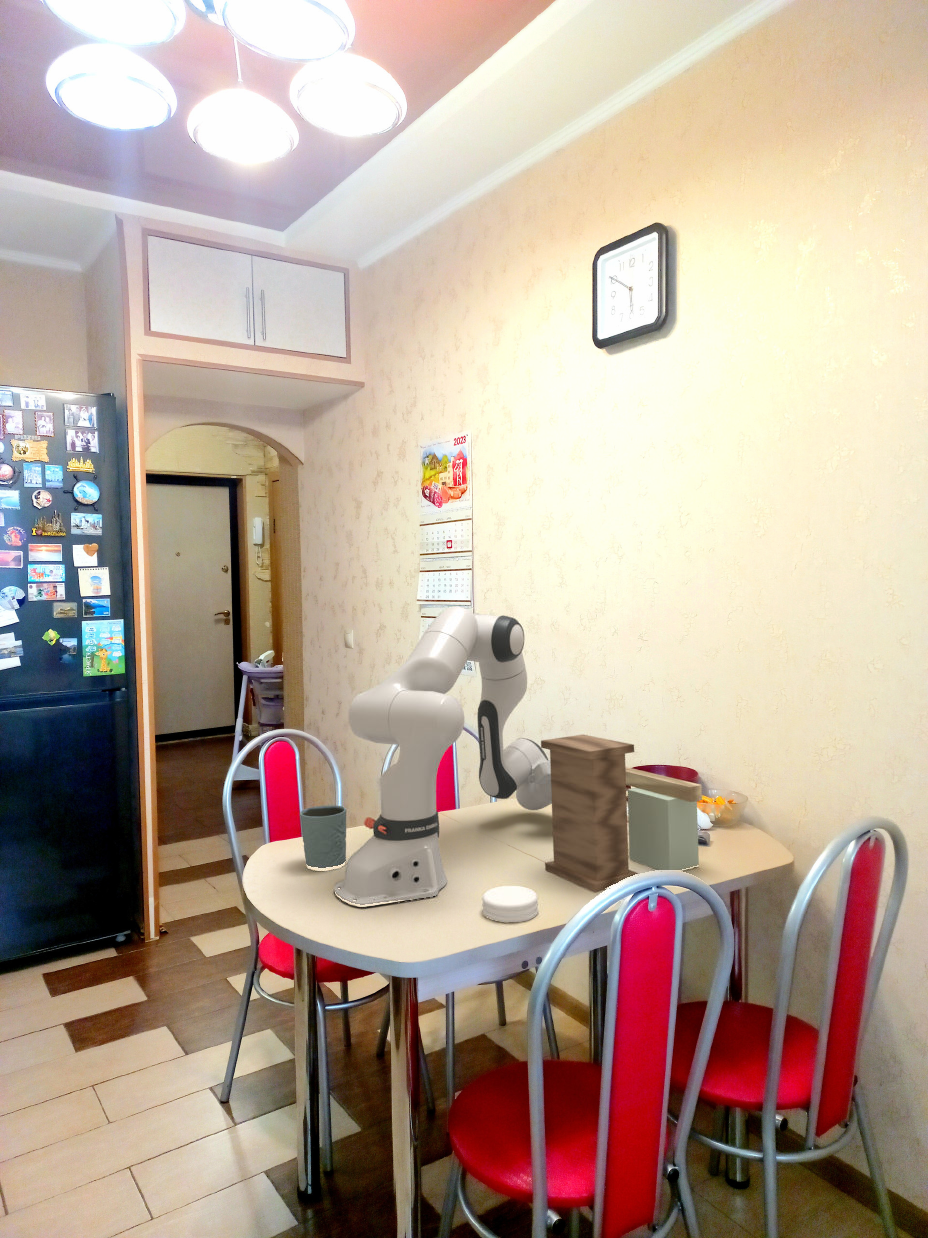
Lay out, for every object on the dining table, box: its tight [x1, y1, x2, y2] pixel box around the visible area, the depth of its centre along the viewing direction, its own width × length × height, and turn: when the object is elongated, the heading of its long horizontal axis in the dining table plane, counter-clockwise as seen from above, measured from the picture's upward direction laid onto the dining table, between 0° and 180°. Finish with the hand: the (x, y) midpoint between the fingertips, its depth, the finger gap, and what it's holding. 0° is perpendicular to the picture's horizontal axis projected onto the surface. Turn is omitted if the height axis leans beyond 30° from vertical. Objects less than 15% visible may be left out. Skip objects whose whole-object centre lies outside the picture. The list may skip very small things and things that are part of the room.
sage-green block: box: [627, 787, 700, 872], centre depth 173 cm, size 8×12×15 cm, turn 30°
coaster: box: [481, 885, 539, 924], centre depth 149 cm, size 10×10×4 cm
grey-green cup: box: [299, 804, 347, 868], centre depth 180 cm, size 10×10×12 cm
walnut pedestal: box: [540, 734, 639, 893], centre depth 167 cm, size 11×16×27 cm
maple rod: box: [625, 766, 703, 802], centre depth 175 cm, size 3×24×3 cm, turn 30°
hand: (588, 755), depth 192 cm, fingers open, 8 cm apart
